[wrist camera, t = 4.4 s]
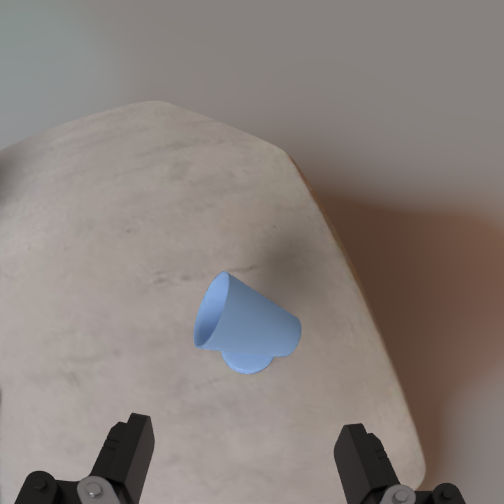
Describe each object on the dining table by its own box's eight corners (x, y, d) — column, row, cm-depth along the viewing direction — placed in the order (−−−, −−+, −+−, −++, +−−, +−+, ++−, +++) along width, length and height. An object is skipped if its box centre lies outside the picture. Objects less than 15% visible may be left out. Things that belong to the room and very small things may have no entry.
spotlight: (195, 366, 23) (278, 382, 23) (176, 333, 14) (310, 359, 14) (209, 312, 25) (286, 327, 25) (200, 252, 17) (318, 275, 17)
